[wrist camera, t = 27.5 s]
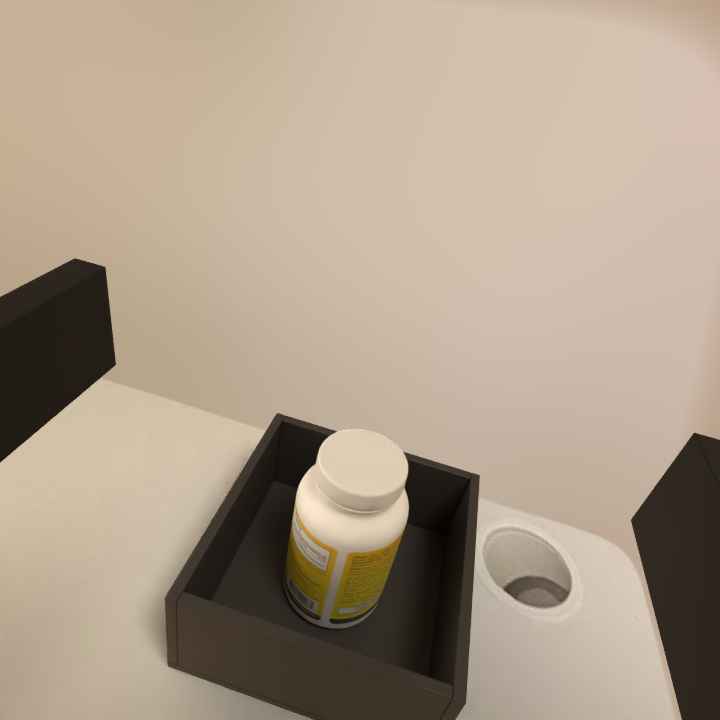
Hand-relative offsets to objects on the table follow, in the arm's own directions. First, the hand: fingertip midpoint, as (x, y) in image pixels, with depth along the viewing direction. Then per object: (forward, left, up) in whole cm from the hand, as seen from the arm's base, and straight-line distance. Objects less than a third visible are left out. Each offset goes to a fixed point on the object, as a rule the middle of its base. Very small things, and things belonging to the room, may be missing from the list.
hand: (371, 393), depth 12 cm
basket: (0, -10, -23) cm, 25 cm away
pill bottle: (0, -10, -23) cm, 25 cm away
